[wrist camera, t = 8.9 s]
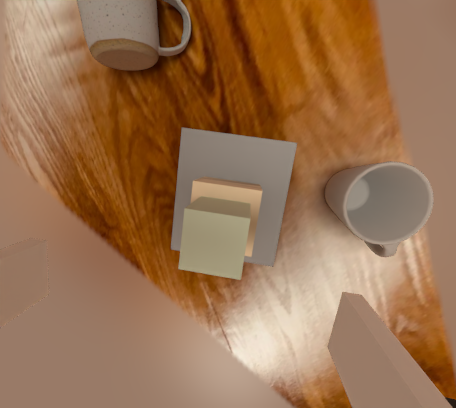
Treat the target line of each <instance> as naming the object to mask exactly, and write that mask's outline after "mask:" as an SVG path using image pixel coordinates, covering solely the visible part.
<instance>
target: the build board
mask: <svg viewBox="0 0 456 408" xmlns="http://www.w3.org/2000/svg"><path fill="white" fill-rule="evenodd" d="M296 146H297V143H294V142H287V141H279V140H272V139H264V138H257V137H249V136H242V135H234V134H227V133H219V132H212V131H204V130H197V129H189V128H182V131H181V142H180V153H179V164H178V175H177V186H176V197H175V208H174V219H173V230H172V241H171V249H172V250H178V251H180V248H181V238H182V228H183V218H184V208H186V207H187V206H188V205H190V203H191V194H192V185H193V180H196V179H199V178H202V177H204V176H205V177H212V178H219V179H226V180H232V181H239V182H246V183H253V184H260V186H261V188H262V191H263V192H262V197H261V203H260V209H259V215H258V221H257V227H256V233H255V239H254V244H253V250H252V256H251V257H249V256H244V262H248V263H254V264H260V265H266V266H272V267H273V265H274V260H275V255H276V250H277V245H278V240H279V234H280V229H281V224H282V219H283V214H284V208H285V203H286V198H287V193H288V188H289V183H290V177H291V172H292V167H293V162H294V157H295V152H296Z"/></svg>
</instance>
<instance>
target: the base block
mask: <svg viewBox="0 0 456 408" xmlns="http://www.w3.org/2000/svg"><path fill="white" fill-rule="evenodd" d="M262 192H263V191H262V188H261V186H260V184H253V183H246V182H239V181H232V180H226V179H219V178H212V177H205V176H204V177H202V178H199V179H196V180H193V185H192V194H191V203H192V202H194V201H195V200H196V199H198V198H199V197H201V196H205V197H212V198H218V199H225V200H232V201H238V202H245V203H250V211H251V219H250V225H249V231H248V238H247V244H246V250H245V256H249V257H251V256H252V250H253V244H254V239H255V233H256V227H257V221H258V215H259V209H260V203H261V197H262ZM191 203H190V204H191Z"/></svg>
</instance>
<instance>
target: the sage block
mask: <svg viewBox="0 0 456 408" xmlns="http://www.w3.org/2000/svg"><path fill="white" fill-rule="evenodd" d="M250 219H251V211H250V203H245V202H238V201H232V200H225V199H218V198H212V197H205V196H201V197H199V198H198V199H196V200H195V201H194V202H192V203H191V204H190V205H188V206H187V207H186V208H184V218H183V228H182V238H181V248H180V259H179V269H181V270H187V271H193V272H198V273H204V274H210V275H215V276H221V277H227V278H233V279H238V280H241V275H242V268H243V262H244V256H245V250H246V244H247V238H248V231H249V225H250Z"/></svg>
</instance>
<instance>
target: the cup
mask: <svg viewBox="0 0 456 408" xmlns="http://www.w3.org/2000/svg"><path fill="white" fill-rule="evenodd" d="M325 199H326V202H327V204H328V205H329V207H330V208H331V209H332V210H333V212H334V213H335V214H336V215H337V217H338V218H339V219H340V220H341V221H342V222H343V223H344V224H345V226H346V227H347V228H348V229H349V230H350V231H351V232H352V233H353V234H354V235H356V236H357V237H359V238H360V239H361V240H364V242H365V243H366V244H367V246H368V247H369V248H370V249H371V250H372V251H373V252H374V253H375V254H377V255H379V256H381V257H389V256H393V255H394V254H395V253H396V251H397V247H398V245H399V243H400V242H401V241H403V240H406V239H408V238H409V237H411V236H413V235H414V234H416V233H417V232H418V231H419V230H420V229H421V228H422V227H423V226H424V225H425V223H426V221H427V220H428V218H429V216H430V214H431V211H432V207H433V191H432V188H431V185H430V182H429V181H428V180H427V179H426V177H425V176H424V174H423V173H422V172H420V171H419V170H418V169H416V168H415V167H414V166H411V165H408V164H406V163H403V162H392V161H390V162H384V163H377V164H371V165H364V166H358V167H354V168H350V169H345V170H342V171H340V172H337V173H336V174H335V175H333V176H332V177H331V178H330V180H329V181H328V183H327V185H326V187H325ZM380 245H382V247H383V248H382V247H381V246H380Z"/></svg>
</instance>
